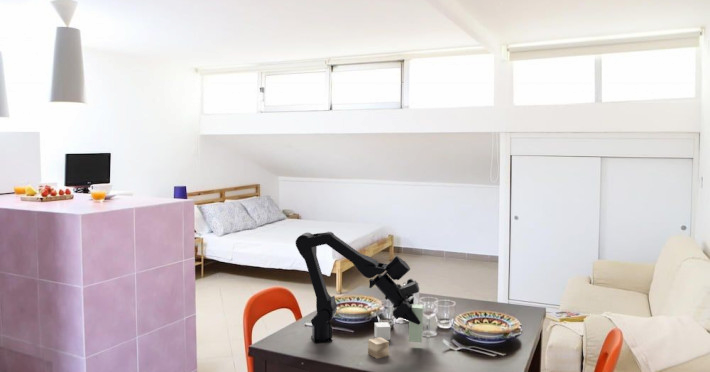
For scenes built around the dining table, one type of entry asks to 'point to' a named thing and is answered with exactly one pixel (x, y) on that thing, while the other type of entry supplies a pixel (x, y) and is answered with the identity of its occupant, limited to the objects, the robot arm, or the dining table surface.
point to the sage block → (416, 329)
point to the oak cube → (378, 347)
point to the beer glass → (416, 295)
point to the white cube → (382, 330)
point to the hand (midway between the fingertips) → (420, 321)
